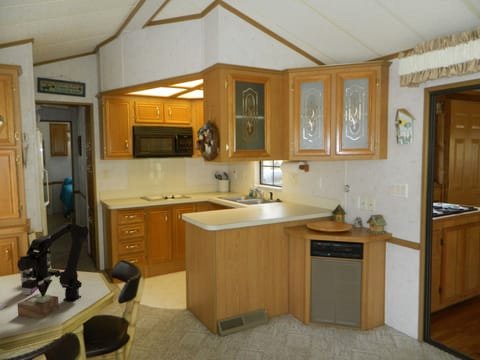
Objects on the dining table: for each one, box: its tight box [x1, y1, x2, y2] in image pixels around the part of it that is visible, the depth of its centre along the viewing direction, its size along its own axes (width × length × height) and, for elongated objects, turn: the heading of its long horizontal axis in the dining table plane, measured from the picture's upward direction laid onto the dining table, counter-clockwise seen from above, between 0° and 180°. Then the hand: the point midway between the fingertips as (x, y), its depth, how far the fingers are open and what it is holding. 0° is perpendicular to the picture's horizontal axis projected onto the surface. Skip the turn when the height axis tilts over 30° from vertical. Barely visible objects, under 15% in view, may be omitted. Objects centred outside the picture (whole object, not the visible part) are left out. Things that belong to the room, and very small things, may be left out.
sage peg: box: [37, 293, 51, 303], centre depth 183 cm, size 4×4×6 cm
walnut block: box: [17, 293, 60, 320], centre depth 185 cm, size 12×13×6 cm
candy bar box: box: [19, 268, 38, 296], centre depth 210 cm, size 11×5×16 cm, turn 9°
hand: (43, 295), depth 183 cm, fingers closed, pressing on sage peg
